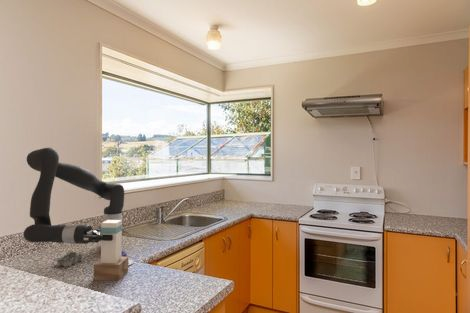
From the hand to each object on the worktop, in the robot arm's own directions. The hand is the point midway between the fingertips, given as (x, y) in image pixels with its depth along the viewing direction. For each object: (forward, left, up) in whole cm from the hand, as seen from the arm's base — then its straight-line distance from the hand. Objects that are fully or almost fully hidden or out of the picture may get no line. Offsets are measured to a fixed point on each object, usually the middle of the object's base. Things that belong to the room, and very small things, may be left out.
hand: (116, 234), depth 127 cm
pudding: (-13, -4, -17) cm, 22 cm away
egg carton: (-13, -26, -17) cm, 34 cm away
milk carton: (0, -2, -11) cm, 11 cm away
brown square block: (0, -2, -17) cm, 17 cm away
